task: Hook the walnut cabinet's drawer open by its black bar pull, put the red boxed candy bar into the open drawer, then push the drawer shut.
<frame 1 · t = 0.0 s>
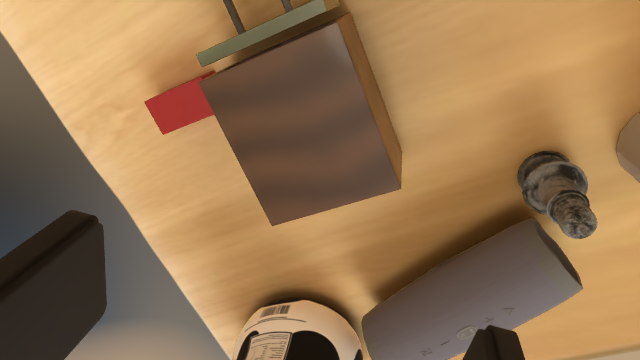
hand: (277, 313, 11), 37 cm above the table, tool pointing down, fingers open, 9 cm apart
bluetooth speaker: (456, 272, 53), on the table
salt shaker: (543, 173, 46), on the table
cabinet: (318, 108, 47), on the table
milk container: (305, 334, 62), on the table
candy bar: (195, 98, 49), on the table
drawer: (285, 63, 41), point 5 cm above the table, slide at 1.0 cm
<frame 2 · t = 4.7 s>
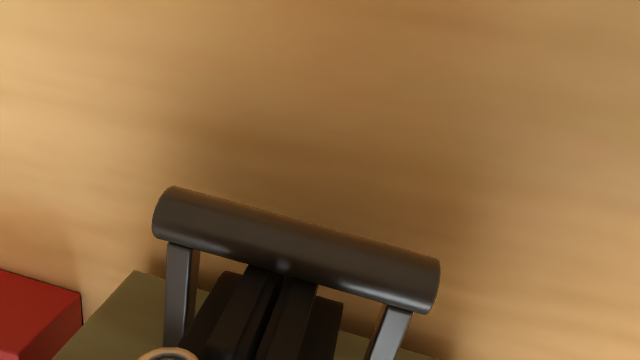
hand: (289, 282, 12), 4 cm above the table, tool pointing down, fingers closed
candy bar: (6, 302, 20), on the table
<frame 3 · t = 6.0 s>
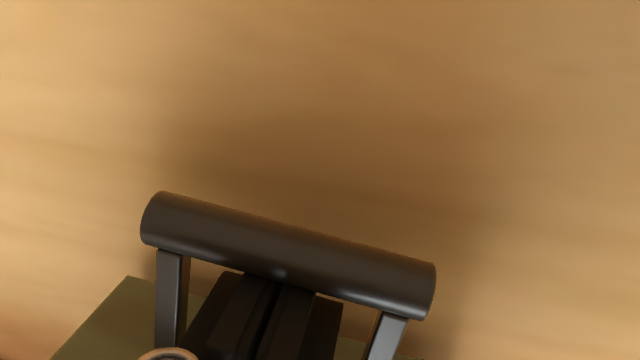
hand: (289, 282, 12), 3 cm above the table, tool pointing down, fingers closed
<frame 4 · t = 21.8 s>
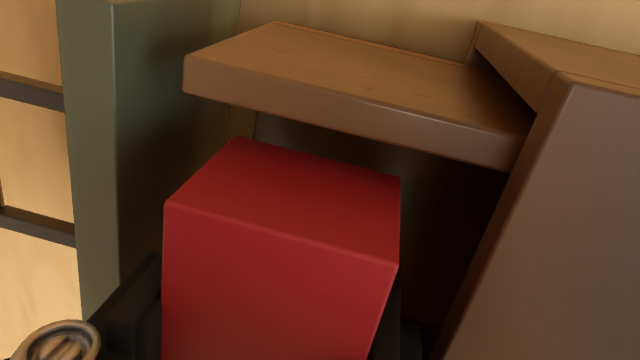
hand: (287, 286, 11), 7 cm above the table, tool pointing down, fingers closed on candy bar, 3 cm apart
cabinet: (612, 242, 17), on the table
candy bar: (290, 280, 12), point 7 cm above the table, touching gripper
drawer: (265, 217, 14), point 5 cm above the table, slide at 7.9 cm
when the fingers open (9 cm above the table, at t = 26.6 s): candy bar drops 7 cm, resting on drawer.
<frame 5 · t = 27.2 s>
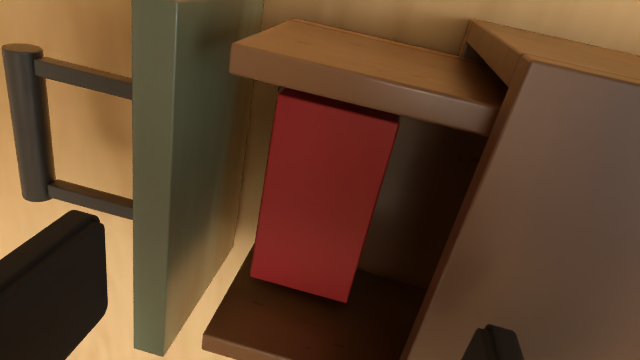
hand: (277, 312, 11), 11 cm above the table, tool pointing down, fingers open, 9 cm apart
cabinet: (590, 215, 19), on the table
candy bar: (330, 170, 18), point 2 cm above the table, touching drawer
drawer: (285, 187, 16), point 5 cm above the table, slide at 7.9 cm, touching candy bar
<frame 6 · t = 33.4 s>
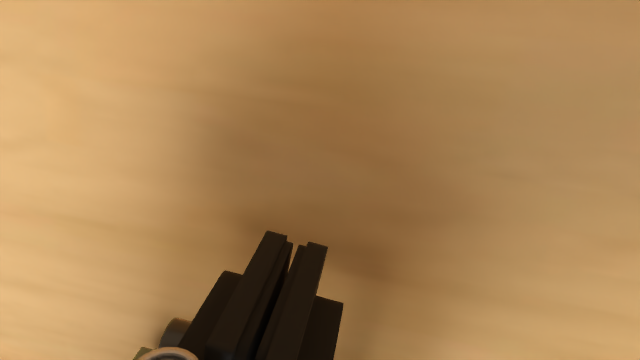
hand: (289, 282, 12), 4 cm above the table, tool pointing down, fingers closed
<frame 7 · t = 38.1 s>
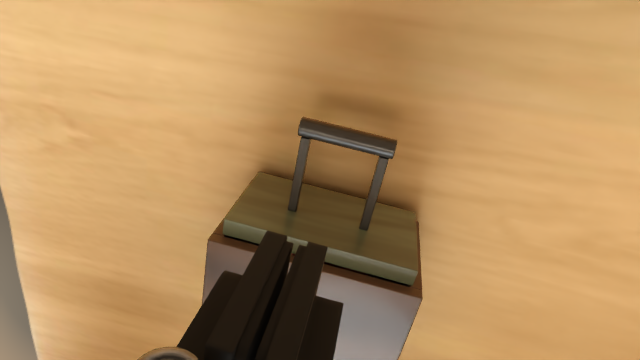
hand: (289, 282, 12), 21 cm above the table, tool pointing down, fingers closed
cabinet: (316, 274, 38), on the table
drawer: (318, 260, 32), point 5 cm above the table, slide at 0.0 cm, touching cabinet, candy bar
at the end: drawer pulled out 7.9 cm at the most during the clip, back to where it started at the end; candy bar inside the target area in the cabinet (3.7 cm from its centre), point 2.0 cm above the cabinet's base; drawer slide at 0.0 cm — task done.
